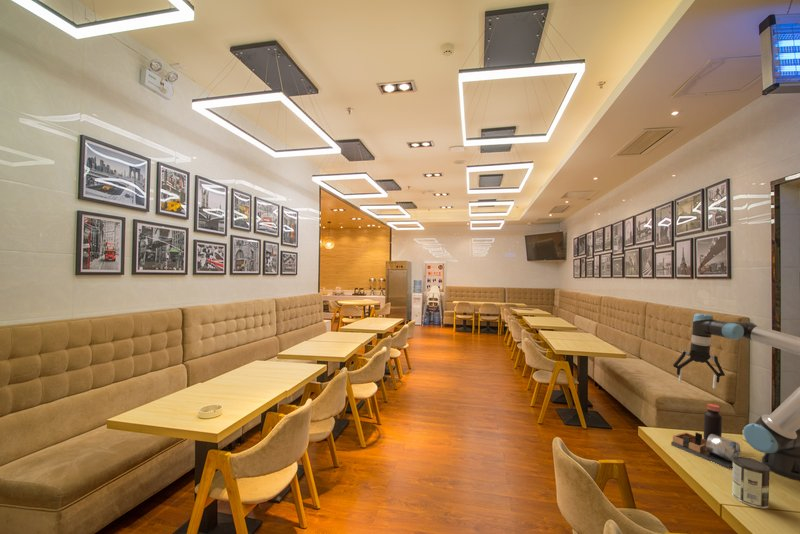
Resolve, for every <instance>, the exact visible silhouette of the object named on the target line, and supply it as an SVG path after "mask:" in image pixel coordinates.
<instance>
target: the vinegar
mask: <svg viewBox="0 0 800 534" xmlns="http://www.w3.org/2000/svg"><path fill="white" fill-rule="evenodd" d="M706 409H707V411H706V412H704V415H703V417H704V418H703V439H705V440H707V438H708V437H709V435H710V434H715V435H718V436H721V437H722V435H723V434H722V430H723V417H722V415H721V414H720V411H721V410H720V409H721V406H719V405H718V404H715V403H707V404H706Z"/></svg>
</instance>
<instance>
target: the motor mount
mask: <svg viewBox="0 0 800 534" xmlns="http://www.w3.org/2000/svg"><path fill="white" fill-rule="evenodd" d="M670 444H671V446H673V447H675V448H678V449H681V450H683V451H685V452H687V453H690V454H692V455H695V456H697V457H699V458H701V457H702V459H703V460H706V459H707V460H706V461H709V462H711V461H712V463H713V462H715V463H714V464H716V463H717V464H716V465H718V464H719V465H718V466H720V465H721V467H723V466H724V467H723V468H725V467H726V468H725V469H728V468H730V469H733V468H732V467H733V460H732V458H733V457H735V456H740V455H741V446H740V443H739V442H737V441H734V440H732V439H729V438H725V437H724V436H722V435H721V436H718V435H715V434H710V435H709V437H708V438H707V440H705V439H704V438H703V434H702V433H699V432H695V433H694V435H693V434H691V433H688V432H682V433H679V434H675V435H672V441H671V443H670ZM740 457H741V456H740Z"/></svg>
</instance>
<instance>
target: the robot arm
mask: <svg viewBox="0 0 800 534" xmlns="http://www.w3.org/2000/svg"><path fill="white" fill-rule="evenodd" d="M712 335H713V336H716V337H720V338H721V337H722V338H725V339H729V340H740V339H746V340H751V341H753V342H756V343H758V344H759V343H760V344H763V345H766V346H770V347H772V348H776V349H778V350H781V351H784V352H787V353H790V354H791V353H792V354H794V355H797V356H800V336H795V335H792V334H790V333H789V334H788V333H785V332H782V331H777V330H774V329H770V328H767V327H763V326H759V325H757V324H755V323H754V322H751V321H723V320H717V319H714V315H712V314H707V313H698V312H697V313H695V314H694V315H693V319H692V331H691V343H690V350H689V351H685V350H684V349H683V350H682V351H681V354H680V355H679V357H678V358H677V359H676V361H674V363H673V364H672V365H673V366H672V367H674V368H676V375H677V376H678V382H679V383H682V376H683V369H682V368H684V367H686V366H687V365H689V364H690V363H691V362H693V361H694V362H696V363H703V364H704V363H706V365H707V366H708V367H709V368H710V369H711V370H712V372H713V373H714V374H713V377H712V378H713V381H712V389H713V390H716V388H717V383H720V379H721V378H720V377H724V376H726V374H725V372H724V370H723V368H722V366H721V365H720V362H719V358H718V356H717V355H711V354H710V351H711V346H710V345H711V342H712V341H711V340H712ZM688 355H689V356H690V357H688V358H687V359H685V361H683V359H684V358H685V357H687V356H688ZM710 359H711V360H713V361H714V364H715V365H716V367H717V369H718V371H719V372H718V371H717V370H716V369H715V367H714V366H713V365H712V364H711V363H710V362H709V361H708V360H710ZM682 361H683V362H682ZM742 434H743V436H744V440H745V441H746V443H747V444H748V445H749V446H751V447H752V449H754V450H756V451H758V452H760V453H764V454H763V455H762V457H761V463H763V464H765V465H767V466H768V467H769V468H770V472H772V473H775V474H777V475H779V476H782V477H785V478H789V479H793V480H797V481H800V386H799V387H797V388H796V389H795V390H794V391H793V392H792V393H791V394H790V395H789V396H788V397H787V398H786V399H784V401H783V402H781V403H780V405H778V407H777V408H775V409H774V411H772V412H771V413H770V414H765V413H764V414H762V415H760V417H759V418H757V420H756V421H755V422H753V423H752V422H751V423H749V424H746V425H745V426H744V428H743V429H742Z"/></svg>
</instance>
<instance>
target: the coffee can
mask: <svg viewBox="0 0 800 534" xmlns="http://www.w3.org/2000/svg"><path fill="white" fill-rule="evenodd" d="M732 460H733V468H732V476H731V477H732V478H731V479H732V481H731V496H732V497H733V498H734V499H735V500H737V501H739V502H741V503H742V504H745V505H747V506H750V507H752V508H753V507H754V508H757V509H763V510H765V509H769V507H770V505H769V504H770V503H769V502H770V497H769V496H770V472H771V471H770V468H769V467H768V466H767V465H765V464H763V463H762V461H759V460H756V459H754V458H750V457H744V456H735V457H733V458H732Z"/></svg>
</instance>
